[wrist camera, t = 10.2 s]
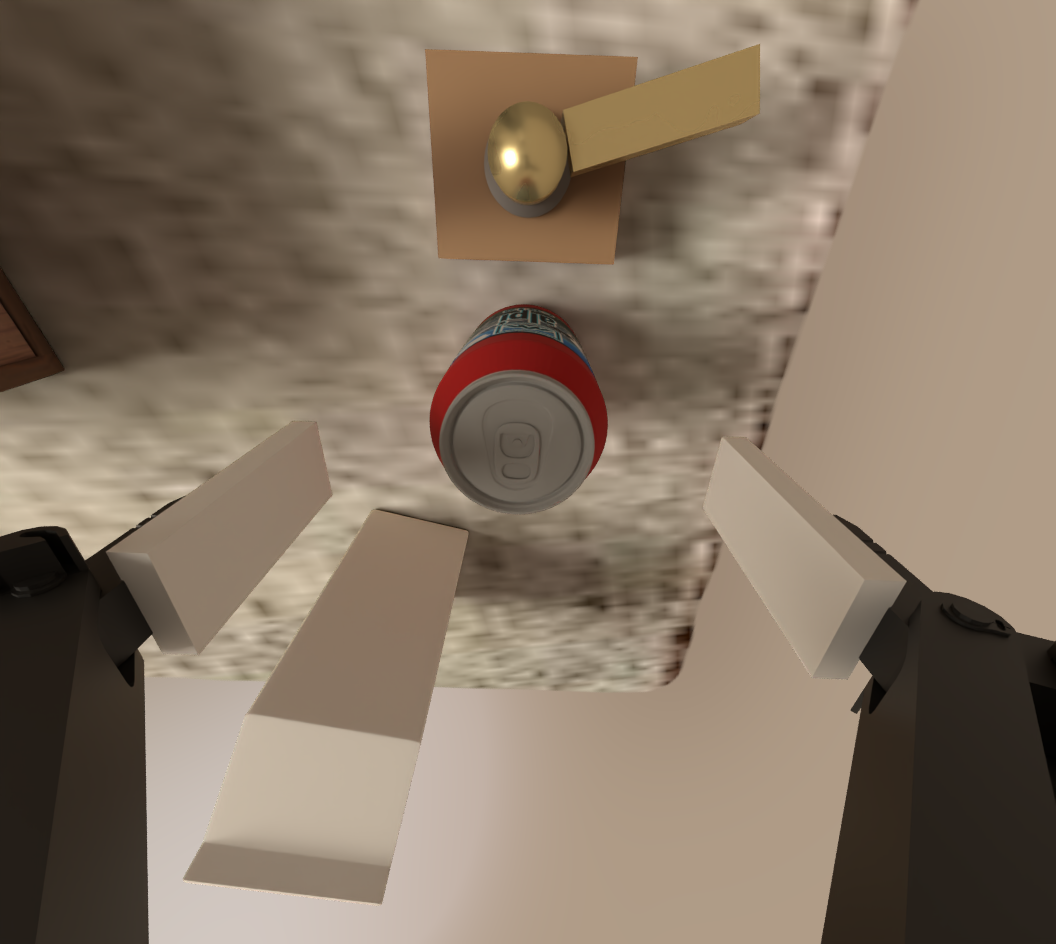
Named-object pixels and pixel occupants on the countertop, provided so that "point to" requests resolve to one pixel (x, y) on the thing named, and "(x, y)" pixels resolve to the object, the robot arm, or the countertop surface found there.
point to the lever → (620, 124)
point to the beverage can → (519, 413)
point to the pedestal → (463, 169)
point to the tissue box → (21, 343)
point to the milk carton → (339, 725)
